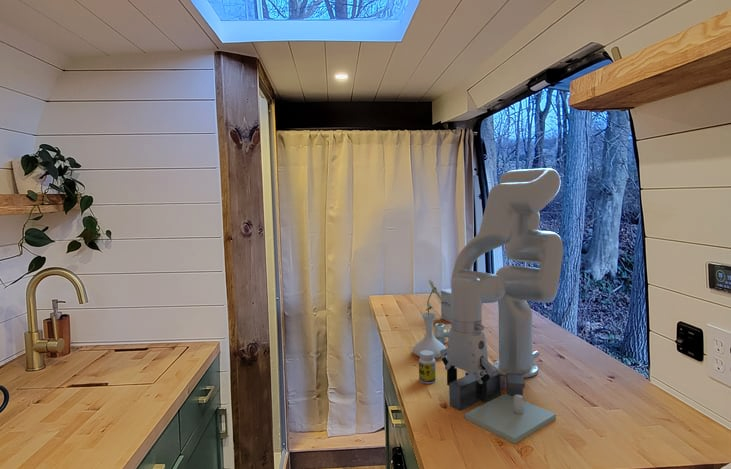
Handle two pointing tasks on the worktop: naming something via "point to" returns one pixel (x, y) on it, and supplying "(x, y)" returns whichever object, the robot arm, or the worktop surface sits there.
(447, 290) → the supplement box
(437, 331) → the valve
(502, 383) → the link
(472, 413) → the board
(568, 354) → the worktop surface
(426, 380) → the supplement bottle
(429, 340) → the flower in vase
